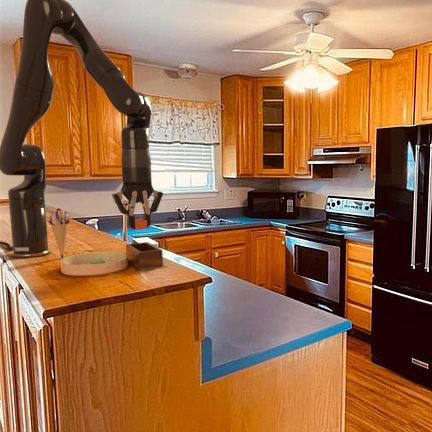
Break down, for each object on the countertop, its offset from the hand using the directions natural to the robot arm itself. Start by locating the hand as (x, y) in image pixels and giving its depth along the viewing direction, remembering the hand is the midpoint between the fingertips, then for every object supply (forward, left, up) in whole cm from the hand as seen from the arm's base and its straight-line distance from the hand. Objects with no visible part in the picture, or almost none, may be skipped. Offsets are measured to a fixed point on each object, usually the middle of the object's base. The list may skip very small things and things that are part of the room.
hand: (139, 228), depth 118 cm
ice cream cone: (-16, -18, -10) cm, 26 cm away
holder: (+3, 0, -10) cm, 10 cm away
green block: (+4, -12, -9) cm, 16 cm away
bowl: (+1, -12, -10) cm, 15 cm away
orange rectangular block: (0, 0, 0) cm, 0 cm away
